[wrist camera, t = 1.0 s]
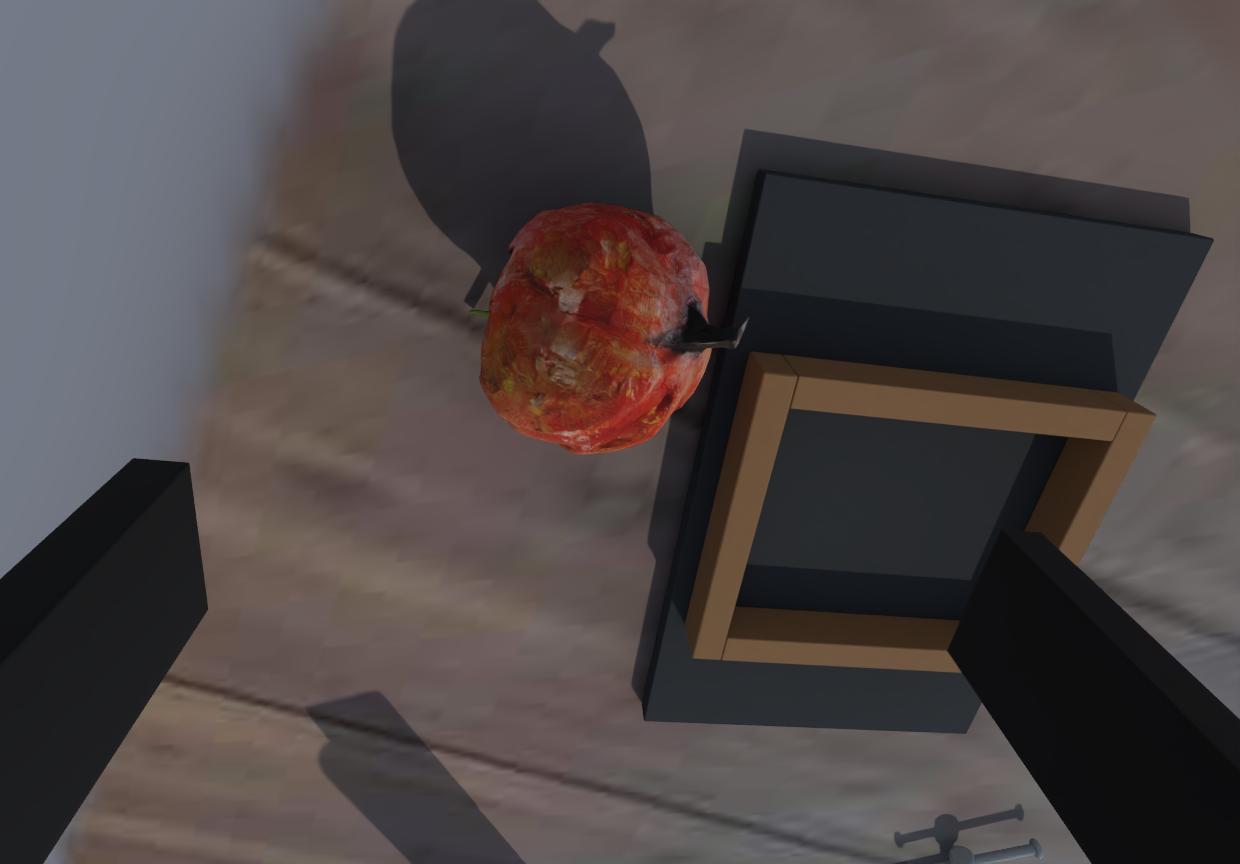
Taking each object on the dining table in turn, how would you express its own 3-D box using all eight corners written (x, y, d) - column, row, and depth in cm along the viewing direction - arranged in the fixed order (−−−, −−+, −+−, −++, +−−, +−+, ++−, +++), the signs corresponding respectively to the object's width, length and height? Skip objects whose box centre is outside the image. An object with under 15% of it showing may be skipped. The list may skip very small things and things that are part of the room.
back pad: (757, 168, 23) (783, 182, 21) (1192, 233, 25) (1267, 252, 23) (641, 704, 34) (648, 759, 31) (956, 717, 36) (988, 770, 33)
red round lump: (532, 388, 29) (769, 453, 24) (384, 436, 23) (660, 535, 18) (538, 191, 26) (805, 219, 21) (374, 187, 20) (691, 224, 15)
